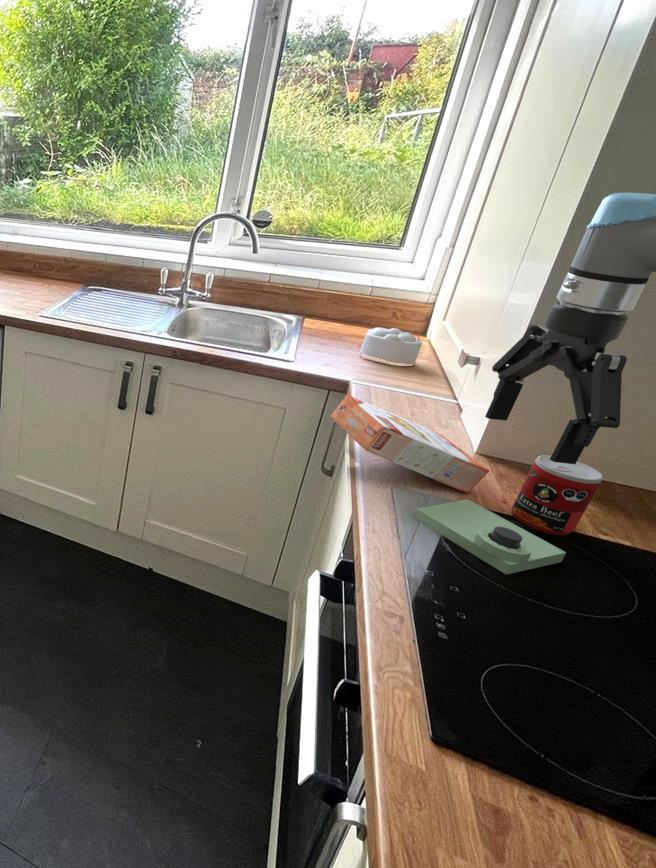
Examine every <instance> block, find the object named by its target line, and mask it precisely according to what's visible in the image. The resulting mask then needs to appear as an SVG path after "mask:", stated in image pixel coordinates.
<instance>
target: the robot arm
mask: <svg viewBox="0 0 656 868" xmlns="http://www.w3.org/2000/svg"><path fill="white" fill-rule="evenodd" d="M581 239H582V240H581V241H580V243H579V246H578V248H577V251H576V253H575V255H574V258H573V260H572V262H571V264H570V266H569V268H568V271H567V274H566V275H565V278H564V279H563V282H562V284H561V287H560V289H559V291H558V292H557V294H556V299H557V300H558V301H557V302H555V303H553V304H551V307H550V309H549V311H548V313H547V316H546V317H545V320H544V322H543V325H537V324H530V325H529V326H528V327H527V329H526V330H525V332H524V334H523V335H522V337H521V338H520V339H519V340H518V341H517V342H515V344H514V345H512V347H510V349H509V350H508V351H507V352H506V353H505V354H504V355H502V356H501V358H499V359H498V360H497V361H496V362H495V363H494V365H492V367H491V369H492V372H494V373H497V374H498V375H497V376H498V377H497V379H499V381H498V382H497V385H496V388H495V390H494V392H493V398H492V400H491V402H490V405H489V407H488V408H487V411H486V413H485V416H484V417H485V418H486V419H488V420H495V421H496V420H498V421H508V418H509V416H510V414H511V412H512V410H513V408H514V406H515V404H516V401H517V399H518V397H519V396H520V393H521V391H522V388H523V386H524V384H523V383H521V382H525V380H524V379H525V378H526V377H529V376H531V375H534V374H535V373H536V372H538V371H540V370H542V369H544V368H546V367H547V366H553V367H555V368H556V369H557V370H558V371H561V372H563V375H564V377H565V378H567V379H568V380H569V386H570V389H571V395H572V401H573V405H574V411H575V416H576V418H574V419H569V421H568V423H567V425H566V427H565V428H564V429H563V432H562V435H561V436H560V439H558V442H557V444H556V446H555V448H554V450H553V452H552V454H551V458H550V460H552V461H553V462H559V463H568V464H576V462H578V460H579V459H580V456H581V455H582V452H583V451H584V449H585V447H586V448H587V447H589V446H590V445H591V443H592V442H593V439H594V438H595V435H596V434H597V432H598V430H599V429H600V428H611V429H617V428H619V427H620V426H621V405H622V404H621V403H622V380H623V379H622V377H623V376H622V375H623V371H624V368H625V366H626V364H627V361H628V359H627V356H626V355H623V354H613V353H612V354H611V353H608V352H606V347H607V345H608V344H609V343H611V342H614V341H616V340H618V339H619V337H620V335H621V333H622V331H623V330H624V328H625V325H626V324H627V322H628V320H629V317H628V315H627V314H626V313H630V312H633V310H634V309H635V308H636V305H637V303H638V301H639V299H640V297H641V295H642V293H643V291H644V289H645V287H646V285H647V283H648V281H649V279H650V276H651V275H652V273H653V272H655V273H656V193H640V192H615V193H611V194H609V195H607V196H606V197H604V198H603V199H602V200H601V202H600V205H599V206H598V208H597V210H596V211H595V214H594V215H593V217H592V219H591V221H590V223H589V224H587V226H586V230H585V231H584V235H583V237H582V238H581ZM585 370H586V371H585ZM589 414H590V415H589Z"/></svg>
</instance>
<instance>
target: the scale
mask: <svg viewBox="0 0 656 868" xmlns="http://www.w3.org/2000/svg"><path fill="white" fill-rule="evenodd" d="M412 518H413V519H415V520H417V521H418V522H420V523H422V524H423V525H424V526H426V527H428V529H431V530H433V531H435V532H436V533H438V534H439V535H441V536H442V537H444V538H446V539H448V540H449V541H451V542H452V543H454V544H456V545H457V546H459V547H460V548H462V549H464V550H465V551H467V552H469V553H470V554H472V555H473V556H475V557H477V559H480V560H481V561H483V562H484V563H486V564H488V565H490V566H491V567H493V568H494V569H496V570H497V571H499V572H501V573H503V574H504V575H511V574H514V573H519V572H524V571H528V570H533V569H536V568H540V567H545V566H550V565H554V564H558V563H562V561H563V560H564V558H565V556H566V554H567V552H566V551H564V550H562V549H561V548H559V547H557V546H556V545H553V544H551V543H549V542H548V541H546V540H544V539H543V538H540V537H539V536H537V535H535V534H533V533H532V532H529V531H528V530H525V529H524V528H523V527H521V526H518V525H517V524H514V523H513V522H511V521H509V520H507V519H505V518H503V517H501V516H500V515H498V514H496V513H494V512H493V511H491V510H488V509H487V508H485V507H484V506H481V505H480V504H478V503H475V502H474V501H472V500H470V499H462V500H457V501H450V502H445V503H439V504H433V505H429V506H423V507H422V506H421V507H417V508H416V509H415V510H414V513H413V516H412ZM495 527H504V528H508V529H511V530H513V531H515V532H517V533H518V534H520V535H521V536H522V541H521V543H520V545H519V546H518V548H517V549H512V548H507V547H504V546H501V545H499V544H497V543H495V542H494V541H492V540H491V539H490V536H491V534H492V532H493V530H494V528H495Z"/></svg>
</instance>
